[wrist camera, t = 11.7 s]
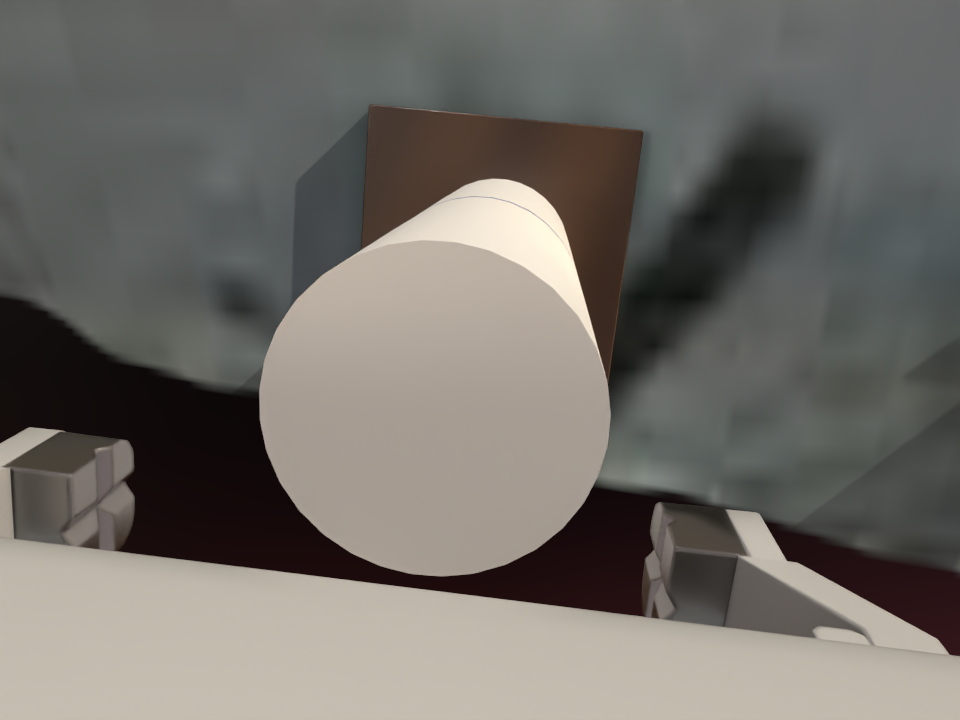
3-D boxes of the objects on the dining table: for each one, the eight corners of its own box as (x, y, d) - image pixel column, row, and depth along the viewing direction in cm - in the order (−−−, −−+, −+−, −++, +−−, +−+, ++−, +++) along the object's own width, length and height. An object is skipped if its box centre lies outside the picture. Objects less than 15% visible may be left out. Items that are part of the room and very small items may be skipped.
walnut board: (640, 130, 40) (643, 130, 39) (604, 388, 44) (606, 395, 43) (373, 104, 41) (368, 104, 40) (358, 361, 44) (353, 367, 43)
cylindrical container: (580, 190, 40) (642, 271, 16) (555, 334, 42) (576, 601, 18) (432, 168, 40) (273, 213, 16) (414, 312, 42) (246, 546, 18)
